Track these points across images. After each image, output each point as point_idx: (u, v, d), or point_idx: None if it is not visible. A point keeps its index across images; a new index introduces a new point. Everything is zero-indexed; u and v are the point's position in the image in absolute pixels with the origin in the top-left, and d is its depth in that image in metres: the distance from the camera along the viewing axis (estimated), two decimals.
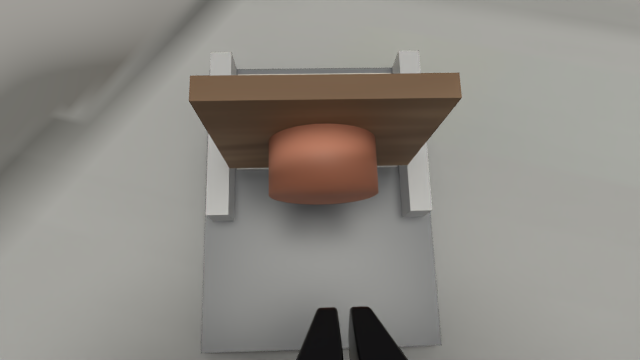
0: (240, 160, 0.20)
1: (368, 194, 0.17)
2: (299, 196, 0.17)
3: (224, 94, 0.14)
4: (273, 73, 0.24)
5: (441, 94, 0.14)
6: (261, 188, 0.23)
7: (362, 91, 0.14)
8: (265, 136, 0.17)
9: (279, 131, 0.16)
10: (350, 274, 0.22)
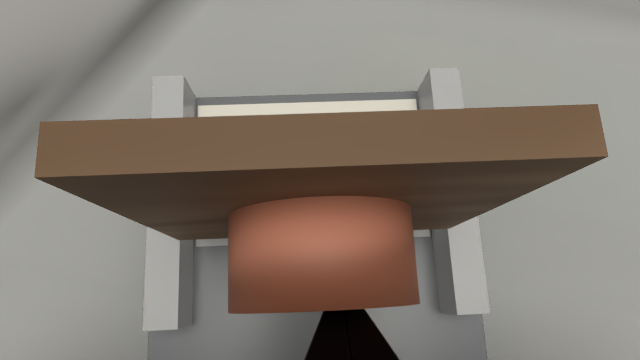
0: (191, 233, 0.12)
1: None
2: None
3: (111, 160, 0.06)
4: (248, 102, 0.17)
5: (566, 150, 0.07)
6: None
7: (402, 148, 0.07)
8: (220, 213, 0.10)
9: (243, 206, 0.09)
10: None
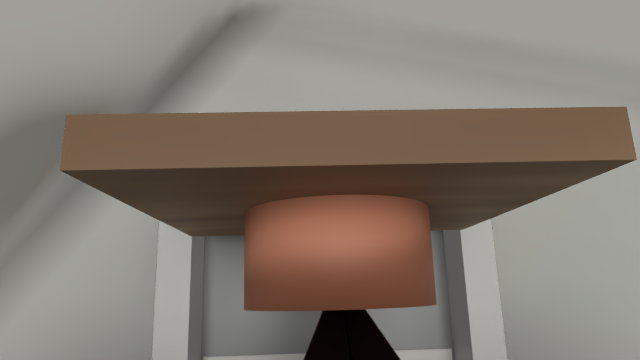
0: (205, 230, 0.12)
1: None
2: None
3: (137, 155, 0.06)
4: None
5: (594, 153, 0.07)
6: None
7: (429, 147, 0.07)
8: (237, 209, 0.10)
9: (262, 203, 0.09)
10: None
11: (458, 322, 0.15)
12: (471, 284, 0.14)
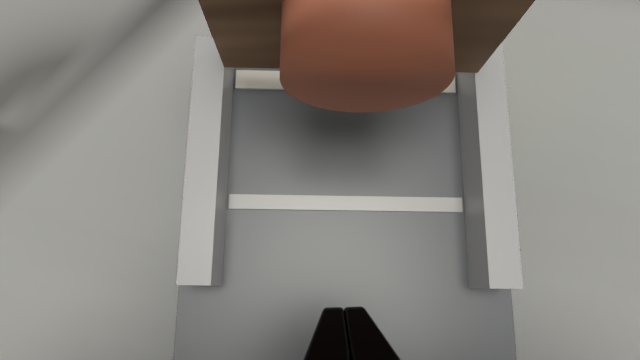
0: (239, 47, 0.13)
1: (435, 85, 0.11)
2: (327, 85, 0.11)
3: None
4: None
5: None
6: (263, 238, 0.16)
7: None
8: None
9: None
10: None
11: (469, 169, 0.16)
12: (484, 126, 0.15)
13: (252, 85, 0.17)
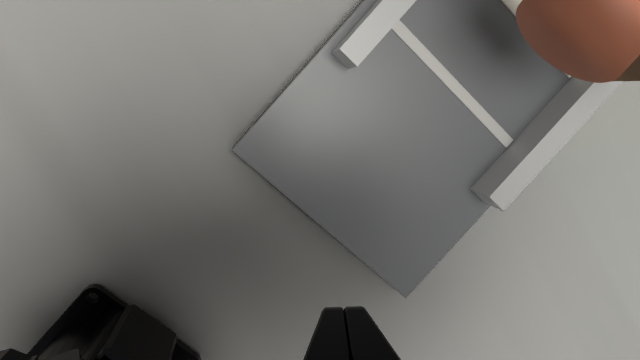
0: None
1: (592, 76, 0.16)
2: (545, 23, 0.16)
3: None
4: None
5: None
6: (392, 62, 0.21)
7: None
8: None
9: None
10: (393, 195, 0.22)
11: (535, 128, 0.21)
12: (570, 114, 0.20)
13: None
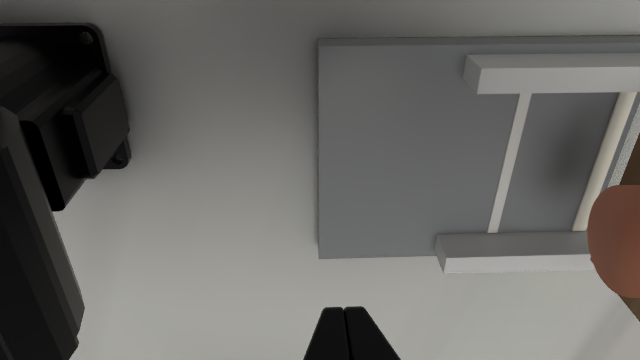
0: None
1: (603, 272, 0.18)
2: (624, 216, 0.17)
3: None
4: (627, 118, 0.21)
5: None
6: (493, 107, 0.20)
7: None
8: None
9: None
10: (388, 191, 0.22)
11: (518, 241, 0.23)
12: (549, 258, 0.22)
13: (623, 92, 0.20)
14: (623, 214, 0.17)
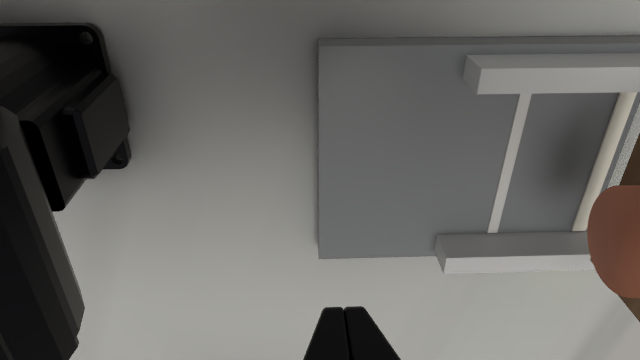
0: None
1: (603, 272, 0.18)
2: (624, 216, 0.17)
3: None
4: (627, 118, 0.21)
5: None
6: (493, 107, 0.20)
7: None
8: None
9: None
10: (388, 191, 0.22)
11: (518, 242, 0.23)
12: (549, 258, 0.22)
13: (623, 93, 0.20)
14: (623, 214, 0.17)
